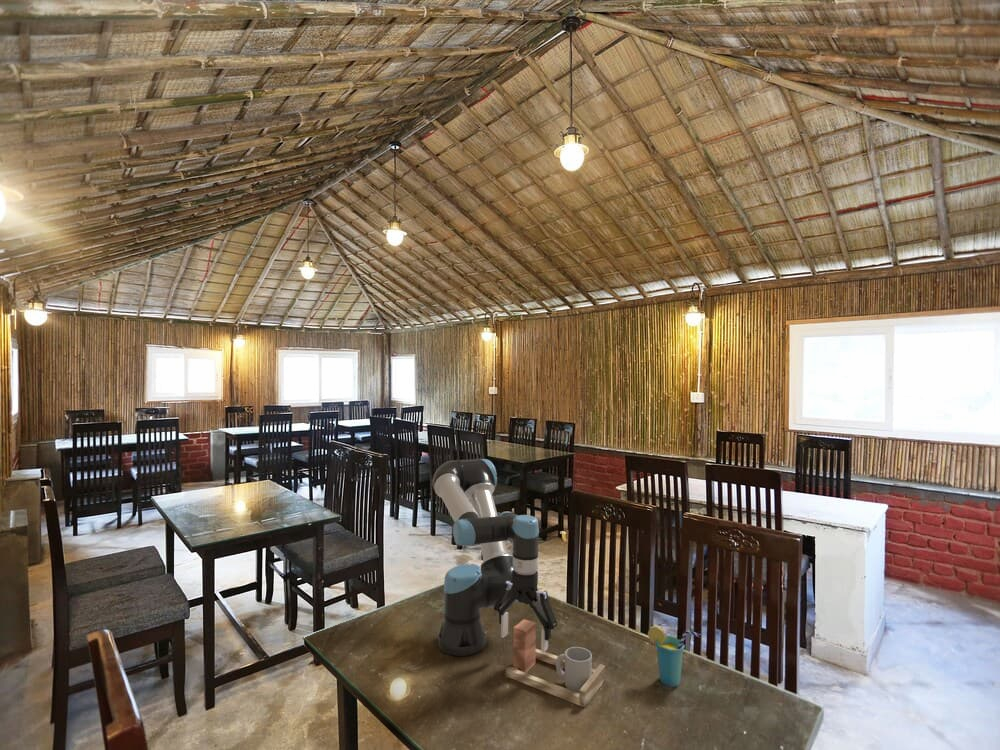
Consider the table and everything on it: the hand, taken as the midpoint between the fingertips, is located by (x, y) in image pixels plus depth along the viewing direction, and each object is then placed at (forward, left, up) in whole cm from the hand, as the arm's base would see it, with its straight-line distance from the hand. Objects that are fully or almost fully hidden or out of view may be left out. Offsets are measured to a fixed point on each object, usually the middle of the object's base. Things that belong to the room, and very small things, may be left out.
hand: (524, 642), depth 143 cm
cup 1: (+16, 0, -7) cm, 17 cm away
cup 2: (+38, +17, -7) cm, 42 cm away
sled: (+10, 0, -7) cm, 12 cm away
